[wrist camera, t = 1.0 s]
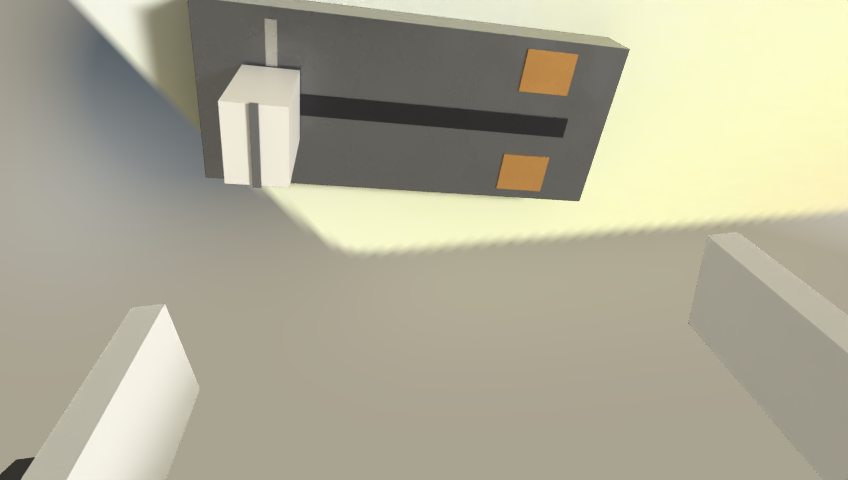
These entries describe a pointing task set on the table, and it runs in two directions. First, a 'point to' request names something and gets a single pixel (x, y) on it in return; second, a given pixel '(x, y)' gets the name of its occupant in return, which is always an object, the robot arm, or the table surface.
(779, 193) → the table surface
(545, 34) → the fader panel
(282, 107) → the fader
